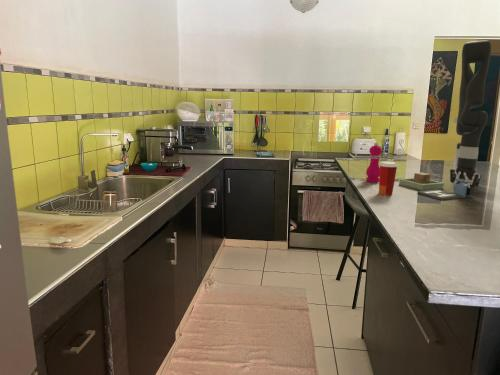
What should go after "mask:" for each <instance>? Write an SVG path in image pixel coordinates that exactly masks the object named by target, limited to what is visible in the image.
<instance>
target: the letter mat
mask: <svg viewBox="0 0 500 375" xmlns="http://www.w3.org/2000/svg"><path fill="white" fill-rule="evenodd" d="M416 193H417V195H421V196H425V197H429V198H431V199H435V200H439V201H449V200H457V199H459V200H460V199H463V198H464V197H463V196H462V195H458V194H454V193H453V192H450V191H446V190H443V189H440V190H427V191H419V190H417V192H416Z"/></svg>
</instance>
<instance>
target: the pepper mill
mask: <svg viewBox="0 0 500 375" xmlns="http://www.w3.org/2000/svg"><path fill="white" fill-rule="evenodd" d="M368 152H369V154H370V155H369V159H370V163H369V165H368V167H367V168H366V170H365V171H366V172H365V174H366V176H367V177H366V180H365V181H366V182H367V181H368V182H367V183H372V182H378V183H379V175H380V165H379V164H380V162H379V161H380V159H381V155H382V153H383V150H382V147H381V146H379V143H378V142H375V143H374V145H372V146H370V148H369V150H368Z"/></svg>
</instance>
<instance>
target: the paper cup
mask: <svg viewBox="0 0 500 375" xmlns="http://www.w3.org/2000/svg"><path fill="white" fill-rule="evenodd" d="M379 167H380V175H379V177H378V178H379V182H378V194H379V195H382V196H392V195H393V191H394V186H395V181H396V180H395V179H396V174H397V169H398V164H397V162H393V161H380V162H379Z"/></svg>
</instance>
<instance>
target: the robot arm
mask: <svg viewBox="0 0 500 375" xmlns="http://www.w3.org/2000/svg"><path fill="white" fill-rule="evenodd" d="M461 49H462V50H461V76H460V77H461V78H460V87H459V96H458V97H459V98H458V99H459V101H458V102H459V103H458V112H457V119H456V126H455V128H456V129H455V131H456V135H458V136H461V140H460V142H458V143H457V144H456V150H455V155H454V156H455V157H454V164H453V168H452V169H450V170H449V180H450V183H452V184H453V186H454V185H455V184H459V183H464V184H467V186H468V188H467V193H466V196H469V197H472V194H473V191H474V190H473V189H474V188H476V187H477V188H478V186H479V184H480V181H481V179H482V174H481V173H477V172H476V168H477V163H478V158H479V157H478V156H479V146H480V140H481V137H482V136H481V135H482V134H483V131H484V129H485V126H486V125H487V123H488V120H489V114H488V112H487V111H485V110H472V109H474V108H480V107H482V106H483V105H484V103H485V89H486V83H487V82H486V81H487V78H488V74H489V73H488V72H489V67H490V61H491V56H492V55H491V54H492V53H491V52H492V43H491V41H490V40H487V39H486V40H474V41H468V42H465V43H464V44H463V46H462V48H461ZM479 63H480V67H479V69H478V71H477V72H476V73H474V71H473V69H472V67H471V64H479ZM452 192H454V188H453V191H452Z"/></svg>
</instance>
